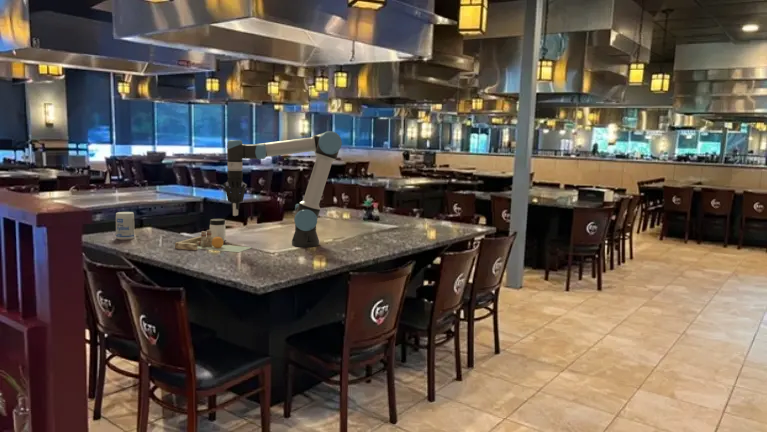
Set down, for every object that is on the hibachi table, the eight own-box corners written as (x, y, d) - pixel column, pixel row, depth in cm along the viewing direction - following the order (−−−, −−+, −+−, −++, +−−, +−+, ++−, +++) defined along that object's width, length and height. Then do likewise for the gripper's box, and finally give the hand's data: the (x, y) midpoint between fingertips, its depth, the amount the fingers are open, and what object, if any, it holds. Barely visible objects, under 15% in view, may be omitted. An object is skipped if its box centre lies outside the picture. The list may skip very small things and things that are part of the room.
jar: (212, 242, 319) (211, 221, 317) (207, 240, 325) (207, 219, 324) (227, 241, 323) (227, 220, 322) (223, 238, 330) (223, 218, 329)
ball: (213, 241, 307) (221, 248, 306) (207, 244, 301) (216, 251, 301) (218, 233, 305) (227, 240, 305) (213, 236, 299) (222, 243, 299)
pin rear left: (207, 247, 304) (207, 231, 303) (204, 247, 302) (204, 232, 301) (203, 246, 305) (202, 231, 304) (200, 247, 303) (200, 231, 302)
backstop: (218, 243, 316) (218, 237, 316) (195, 250, 295) (195, 244, 295) (199, 241, 320) (199, 236, 319) (175, 248, 299) (175, 242, 298)
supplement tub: (115, 240, 316) (114, 214, 314) (116, 237, 325) (115, 211, 323) (134, 239, 320) (134, 213, 318) (134, 236, 329) (134, 211, 327)
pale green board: (252, 247, 306) (252, 247, 306) (238, 252, 293) (238, 252, 293) (200, 243, 315) (200, 242, 315) (184, 247, 302) (184, 247, 302)
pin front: (213, 242, 307) (199, 241, 309) (210, 242, 304) (196, 240, 306) (212, 247, 306) (198, 245, 308) (210, 246, 304) (195, 245, 306)
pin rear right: (212, 245, 309) (212, 230, 308) (209, 246, 307) (209, 230, 306) (208, 245, 310) (208, 229, 309) (205, 245, 308) (205, 230, 306)
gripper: (219, 170, 294) (220, 215, 297) (242, 170, 290) (243, 216, 294) (227, 169, 301) (228, 213, 304) (249, 170, 298) (250, 215, 301)
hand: (235, 215), depth 299 cm, fingers closed
